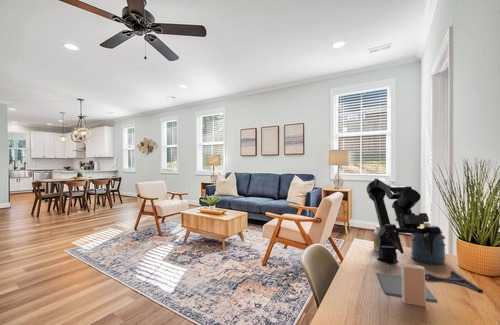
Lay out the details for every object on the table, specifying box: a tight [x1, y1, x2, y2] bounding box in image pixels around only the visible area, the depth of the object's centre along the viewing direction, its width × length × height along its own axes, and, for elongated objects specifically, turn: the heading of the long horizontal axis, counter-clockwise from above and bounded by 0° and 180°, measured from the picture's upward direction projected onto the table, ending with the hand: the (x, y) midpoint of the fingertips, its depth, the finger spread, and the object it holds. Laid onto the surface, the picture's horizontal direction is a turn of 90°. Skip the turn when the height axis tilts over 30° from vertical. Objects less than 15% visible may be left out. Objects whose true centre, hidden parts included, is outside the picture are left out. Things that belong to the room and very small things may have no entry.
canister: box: [410, 222, 447, 266], centre depth 109 cm, size 13×13×18 cm
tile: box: [400, 263, 427, 307], centre depth 75 cm, size 2×6×12 cm, turn 71°
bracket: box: [425, 270, 484, 293], centre depth 89 cm, size 14×15×3 cm
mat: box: [375, 272, 438, 303], centre depth 86 cm, size 16×15×1 cm
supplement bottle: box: [373, 224, 380, 252], centre depth 122 cm, size 7×7×13 cm
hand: (416, 254), depth 82 cm, fingers open, 9 cm apart
